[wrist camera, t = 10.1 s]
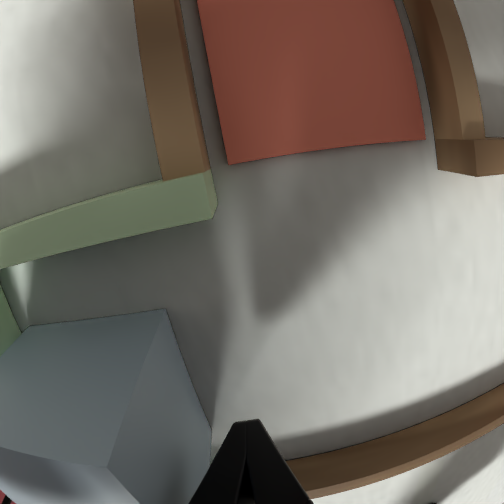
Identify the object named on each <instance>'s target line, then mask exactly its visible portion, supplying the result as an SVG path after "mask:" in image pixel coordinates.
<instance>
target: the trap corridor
mask: <svg viewBox="0 0 504 504" xmlns="http://www.w3.org/2000/svg"><path fill="white" fill-rule="evenodd" d="M133 3H134V12H135V21H136V29H137V37H138V45H139V52H140V59H141V66H142V72H143V79H144V85H145V91H146V97H147V103H148V108H149V114H150V119H151V125H152V130H153V135H154V140H155V145H156V150H157V155H158V160H159V165H160V170H161V174H162V180H158V181H154V182H150V183H146V184H142V185H139V186H135V187H131V188H127V189H124V190H120V191H116V192H113V193H109V194H106V195H102V196H99V197H96V198H92V199H89V200H86V201H82V202H79V203H76V204H73V205H70V206H66V207H63V208H60V209H57V210H54V211H51V212H48V213H45V214H42V215H39V216H37V217H34V218H31V219H28V220H25V221H23V222H20V223H17V224H14V225H12V226H9V227H6V228H4V229H1V230H0V269H3V268H6V267H10V266H14V265H17V264H21V263H25V262H28V261H32V260H36V259H40V258H44V257H47V256H51V255H55V254H59V253H63V252H67V251H71V250H75V249H79V248H83V247H87V246H91V245H96V244H100V243H104V242H108V241H113V240H117V239H121V238H125V237H130V236H134V235H139V234H143V233H148V232H152V231H157V230H161V229H166V228H171V227H175V226H180V225H185V224H190V223H194V222H199V221H204V220H209V219H212V218H213V216H214V213H215V210H216V207H217V205H218V202H217V197H216V192H215V187H214V183H213V178H212V173H211V168H210V163H209V158H208V153H207V148H206V143H205V138H204V133H203V128H202V122H201V117H200V112H199V107H198V102H197V96H196V91H195V86H194V80H193V75H192V69H191V64H190V58H189V53H188V47H187V41H186V36H185V30H184V24H183V18H182V12H181V6H180V0H133ZM403 3H404V6H405V9H406V12H407V15H408V18H409V21H410V25H411V28H412V31H413V35H414V38H415V42H416V46H417V49H418V53H419V57H420V61H421V65H422V70H423V74H424V79H425V83H426V88H427V93H428V99H429V104H430V110H431V116H432V123H433V130H434V137H435V145H436V154H437V164H438V170H443V171H449V172H454V173H460V174H465V175H470V176H475V177H480V176H490V175H499V174H504V138H500V137H485V130H484V122H483V115H482V108H481V102H480V97H479V91H478V86H477V81H476V77H475V72H474V68H473V63H472V59H471V55H470V52H469V48H468V44H467V41H466V37H465V34H464V31H463V28H462V24H461V21H460V18H459V15H458V12H457V10H456V7H455V4H454V1H453V0H403ZM197 4H198V9H199V14H200V20H201V25H202V30H203V36H204V41H205V46H206V52H207V57H208V62H209V67H210V72H211V78H212V83H213V88H214V93H215V99H216V104H217V109H218V114H219V119H220V124H221V129H222V135H223V140H224V145H225V150H226V155H227V160H228V165H232V164H237V163H242V162H247V161H253V160H259V159H264V158H270V157H276V156H282V155H288V154H295V153H302V152H308V151H315V150H323V149H331V148H338V147H347V146H356V145H365V144H375V143H386V142H398V141H411V140H426V136H425V129H424V122H423V116H422V110H421V104H420V98H419V93H418V88H417V83H416V79H415V74H414V70H413V65H412V61H411V57H410V53H409V49H408V45H407V42H406V38H405V35H404V31H403V28H402V24H401V21H400V18H399V15H398V12H397V9H396V6H395V3H394V0H197ZM20 335H21V332H20V329H19V327H18V325H17V323H16V321H15V319H14V316H13V314H12V312H11V309H10V307H9V305H8V302H7V300H6V297H5V295H4V292H3V290H2V287H1V285H0V357H1V355H2V354H3V353H4V352H5V351H6V350H7V349H8V348H9V347H10V346H11V345H12V344H13V342H14V341H15V340H16V339H17V338H18V337H19V336H20ZM503 423H504V383H503V384H502V385H500V386H498V387H496V388H495V389H493V390H491V391H489V392H487V393H485V394H483V395H482V396H480V397H478V398H476V399H474V400H472V401H470V402H468V403H466V404H464V405H462V406H459V407H457V408H455V409H453V410H451V411H449V412H446V413H444V414H442V415H440V416H437V417H435V418H433V419H430V420H428V421H425V422H423V423H420V424H418V425H415V426H412V427H410V428H407V429H404V430H402V431H399V432H396V433H393V434H390V435H387V436H384V437H381V438H378V439H375V440H372V441H368V442H365V443H362V444H358V445H355V446H351V447H347V448H343V449H340V450H336V451H331V452H327V453H323V454H319V455H314V456H309V457H304V458H299V459H294V460H288V461H286V463H287V464H288V466H289V468H290V469H291V471H292V472H293V474H294V475H295V477H296V478H297V480H298V481H299V483H300V484H301V486H302V487H303V489H304V490H305V492H306V493H307V495H308V496H309V498H310V499H314V498H319V497H323V496H328V495H332V494H336V493H340V492H344V491H348V490H351V489H355V488H359V487H362V486H365V485H369V484H372V483H375V482H378V481H381V480H384V479H387V478H390V477H393V476H396V475H398V474H401V473H404V472H406V471H409V470H412V469H414V468H417V467H419V466H422V465H424V464H426V463H429V462H431V461H433V460H435V459H438V458H440V457H442V456H444V455H446V454H448V453H451V452H453V451H455V450H457V449H459V448H461V447H463V446H465V445H467V444H468V443H470V442H472V441H474V440H476V439H478V438H480V437H481V436H483V435H485V434H487V433H488V432H490V431H492V430H493V429H495V428H497V427H498V426H500V425H502V424H503Z"/></svg>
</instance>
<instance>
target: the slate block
mask: <svg viewBox="0 0 504 504" xmlns="http://www.w3.org/2000/svg"><path fill="white" fill-rule="evenodd" d="M211 436H212V430H211V428H210V426H209V423H208V421H207V419H206V416H205V414H204V411H203V409H202V407H201V404H200V402H199V399H198V397H197V394H196V392H195V389H194V387H193V384H192V381H191V379H190V376H189V374H188V371H187V368H186V366H185V363H184V360H183V358H182V355H181V352H180V349H179V346H178V344H177V341H176V338H175V335H174V332H173V329H172V326H171V323H170V320H169V317H168V314H167V311H166V309H160V310H153V311H146V312H139V313H132V314H125V315H118V316H110V317H103V318H95V319H87V320H79V321H70V322H62V323H53V324H43V325H34V326H29V327H28V328H27V329H26V330H25V331H24V332H23V333H22V334H21V335H20V336H19V337H18V338H17V339H16V340H15V341H14V342H13V344H12V345H11V346H10V347H9V348H8V349H7V350H6V351H5V352H4V353H3V354H2V355H1V357H0V490H1V491H2V492H3V493H5V494H6V495H7V496H8V497H9V498H10V499H11V500H12V501H13V502H15V503H16V504H188V503H189V502H190V500H191V498H192V497H193V495H194V493H195V491H196V490H197V488H198V486H199V485H200V483H201V481H202V479H203V478H204V476H205V474H206V472H207V471H208V469H209V467H210V452H211Z"/></svg>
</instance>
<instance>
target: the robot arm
mask: <svg viewBox="0 0 504 504" xmlns="http://www.w3.org/2000/svg"><path fill="white" fill-rule="evenodd" d="M188 504H314V503H313V502H312V500H310V498H309V496H308V495H307V493H306V492H305V490H304V489H303V487H302V486H301V484H300V483H299V481H298V480H297V478H296V477H295V475H294V474H293V472H292V471H291V469H290V468H289V466H288V464H287V463H286V461H285V460H284V458H283V457H282V455H281V453H280V452H279V450H278V449H277V447H276V445H275V444H274V442H273V441H272V439H271V437H270V436H269V434H268V432H267V431H266V429H265V427H264V426H263V424H262V422H261V421H260V420H259V419H253V420H247V421H238V422H235V423H233V425H232V427H231V429H230V431H229V432H228V434H227V436H226V438H225V440H224V442H223V444H222V445H221V447H220V449H219V451H218V453H217V455H216V456H215V458H214V460H213V462H212V464H211V465H210V467H209V469H208V471H207V472H206V474H205V476H204V478H203V479H202V481H201V483H200V485H199V486H198V488H197V490H196V491H195V493H194V495H193V497H192V498H191V500H190V502H189V503H188ZM433 504H437V503H433Z"/></svg>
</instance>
